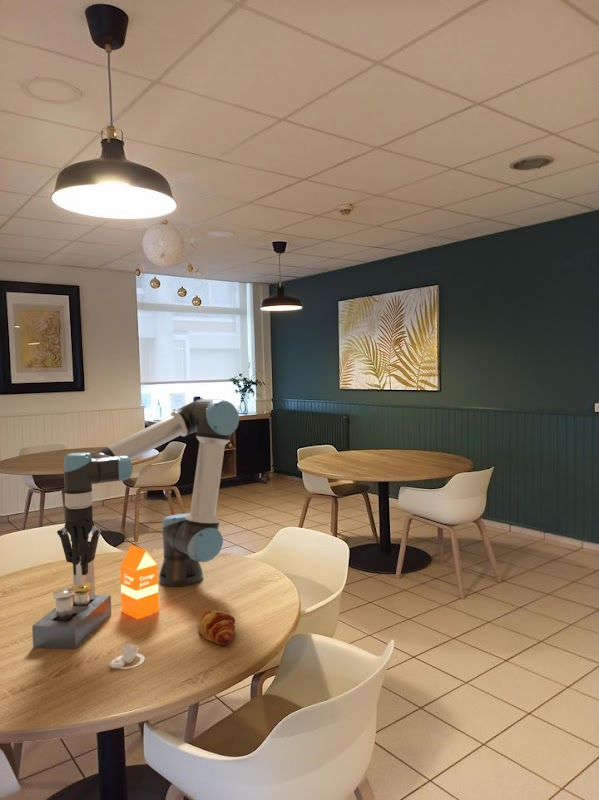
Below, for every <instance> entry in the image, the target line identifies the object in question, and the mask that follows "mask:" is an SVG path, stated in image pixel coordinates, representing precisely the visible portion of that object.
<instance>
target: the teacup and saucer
mask: <svg viewBox="0 0 599 800" xmlns="http://www.w3.org/2000/svg"><path fill="white" fill-rule="evenodd" d="M135 648H136V650H135ZM138 652H139V646H138V645H136V644H131V643H127V644H124V645H123V646H122V647H121V653H122V654H121V655H119V656H117V657H116V658H114V659H112V660H111V661H109V666H110V668H112V669H119V670H130V669H133V668H136V667H138V666H140V665H142V664H143V663H144V662H145V660H146V657H145V656H144V655H143V654H141V653H138ZM135 657H138V658H140V660H139V662H138V663H136V664H134V665H131V666H125V664H130V663H133V661H134V659H135Z"/></svg>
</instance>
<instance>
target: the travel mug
mask: <svg viewBox="0 0 599 800" xmlns="http://www.w3.org/2000/svg"><path fill="white" fill-rule="evenodd" d="M90 542H91V541H89V540H88V551H89V546H90ZM80 559H81V553H80ZM80 562H81V561H80ZM80 562H79V563H80ZM72 574H73V575H72V580H73V585H76V575H74V573H72ZM95 582H96V581H95V559H94V560H93V561H91V562H90V563H88V574H86V583H91V584H92V589H91V590H90V595H96V587H95V586H96V583H95Z"/></svg>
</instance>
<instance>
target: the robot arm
mask: <svg viewBox="0 0 599 800" xmlns="http://www.w3.org/2000/svg"><path fill="white" fill-rule="evenodd" d="M239 423H240V415H239V412H238V410H237V408H236V406H235V405H234V404H233V403H232V402H230V401H228V400H224V399H223V400H222V399H221V398H220V399H210V398H209V399H207V398H201V399H197V400H194V401H192V402H190V403H188V404H185V405H183V406H182V407H180V408H178V409H176V410H174V411H172V412H171V414H170V415H169V416H167V417H166V418H163V419H161V420H160V421H157V422H155V423H153V424H151V425H149V426H147V427H145V428H142V429H141V430H139V431H137V432H135V433H132V434H131V435H128V436H127V437H125V438H122V439H120V440H118V441H116V442H114V443H112V444H110V445H108V446H106V447H104V448H102V449H100V450H97V451H89V452H73V453H68V454H66V455H65V456H64V458H63V479H64V481H63V482H64V506H65V509H64V516H65V524H64V527H62V528H60V529H58V530H57V532H56V534H57V535H58V536H59V538H60V541H61V545H62V546H61V547H62V549H63V553H64V557H65V560H66V563H71V564H72V572H73V573H74V575H76V585H77V587H82V586H84V585H85V584H86V574H88V563H90V562H91V561H93V560H94V561H95V556H96V552H97V546H98V544H99V538H100V536H101V533H102V532H103V529H102V528H98V527H96V526H95V523H94V522H93V521H94V520H93V518H94V511H93V509H94V508H93V506H92V504H93V485H95V484H96V485H97V484H103V483H112V482H113V483H115V482H121V481H126V480H129V479H130V478H131V477H132V475H133V464H132V461H133V460H134V459H137V458H139V457H140V456H143V455H144V454H146V453H148V452H151V451H152V450H154V449H156V448H158V447H160V446H162V445H164V444H166V443H167V442H170V441H172V440H174V439H176V438H178V437H180V436H181V437H186V436H188V435H191V434H194V433H196V434H195V437H196V439H197V441H198V442H199V445H198V452H197V459H196V460H197V461H196V468H195V475H194V481H193V482H194V483H193V488H192V498H191V504H190V511H189V513H188V512H187V513H177V514H173V515H168V516H165V517H164V518H163V520H162V526H161V527H162V540H163V541H162V543H163V561H162V564H161V568H160V571H159V574H158V575H159V577H158V582H159V583H160V584H161V585H163V586H167V587H184V586H189V585H194V584H196V583H198V582H200V581H201V580H202V579H203V578H204V576H203V574H204V573H203V569H202V566H201V563H207V562H209V561H211V560H213V559H215V558H216V557H217V556H218V555H219V553H220V552H221V550H222V547H223V544H224V539H223V535H222V533H221V532H220V530H219V526H220V520H219V518H218V517H217V515H216V514H217V507H218V501H219V493H220V492H219V491H220V486H221V485H220V484H221V477H222V471H223V470H222V469H223V461H224V457H225V456H224V453H225V447H226V445H227V444H228V443H230V442H231V437H232V434H233V433H234V432H235V431H236V430H237V429H238V426H239ZM90 533H91V538H90V537H89V535H90ZM69 535H70V536H69ZM89 538H90V541H89ZM88 541H89V542H90V546H89V551H88ZM80 553H81V559H80ZM80 561H81V562H80ZM79 562H80V563H79ZM73 573H72V574H73Z"/></svg>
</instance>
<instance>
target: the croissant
mask: <svg viewBox="0 0 599 800" xmlns="http://www.w3.org/2000/svg"><path fill="white" fill-rule="evenodd" d="M235 624H236V619H235V617H234V616H233V615H232V614H231V613H229V612H225V611H219V610H215V609H214V610H210V609H209V610H208V609H207V610H205V611H204V612H203V613H202V614H201V615H200V617H199V619H198V629H197V632H198V634H200V635H202V637H203V638H204V639H205V640H207V641H210V642H213V643H214V644H217V645H220V646H225V645H228V644H230V643H231V641H232V640H233V639H234V634H235V630H236V629H235V628H236V627H235Z"/></svg>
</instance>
